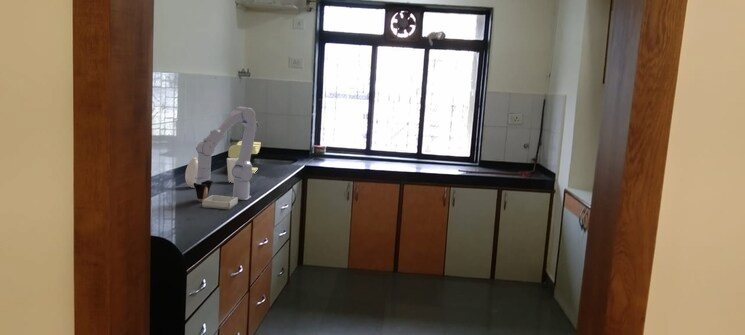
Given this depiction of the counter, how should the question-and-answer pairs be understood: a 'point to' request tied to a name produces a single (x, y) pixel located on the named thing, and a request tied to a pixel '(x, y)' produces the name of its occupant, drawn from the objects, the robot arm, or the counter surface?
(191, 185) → the white tall oval piece
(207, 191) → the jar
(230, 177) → the foam cup
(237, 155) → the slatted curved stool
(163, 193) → the counter surface
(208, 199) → the tray
